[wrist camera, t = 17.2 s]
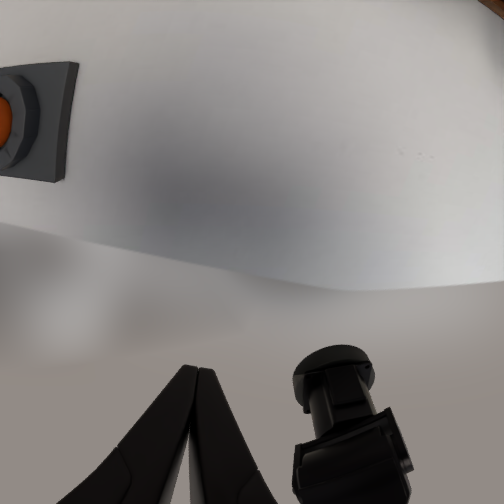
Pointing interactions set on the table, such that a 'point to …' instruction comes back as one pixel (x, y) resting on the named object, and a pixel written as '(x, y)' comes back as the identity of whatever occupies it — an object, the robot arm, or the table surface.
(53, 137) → the dark button base
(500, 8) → the wooden cabinet
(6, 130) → the button
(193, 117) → the table surface
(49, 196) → the table surface
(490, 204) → the table surface
